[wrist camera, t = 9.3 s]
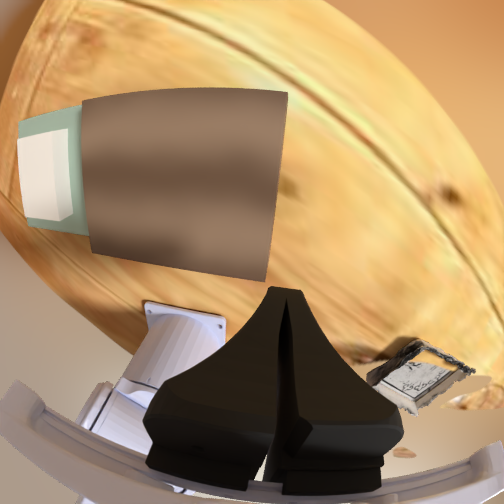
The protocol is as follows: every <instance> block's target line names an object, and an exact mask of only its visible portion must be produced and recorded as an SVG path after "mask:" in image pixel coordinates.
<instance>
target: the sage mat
mask: <svg viewBox="0 0 504 504" xmlns="http://www.w3.org/2000/svg"><path fill="white" fill-rule="evenodd" d="M81 116H82V105H78V106H74V107H69V108H65V109H61V110H57V111H53V112H49V113H46V114H42V115H39V116H35V117H32V118H29V119H26V120H23V121H20V122H19V139H20V138H24V137H28V136H32V135H36V134H41V133H45V132H50V131H56V130H61V129H68V161H69V177H70V189H71V198H72V207H73V214H72V215H70V216H68V217H66V218H65V219H63V220H61V221H53V220H45V219H38V218H30V217H27V222H28V226H30V227H36V228H42V229H49V230H55V231H61V232H67V233H73V234H79V235H86V236H89V231H88V225H87V217H86V209H85V200H84V189H83V176H82V156H81Z"/></svg>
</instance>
